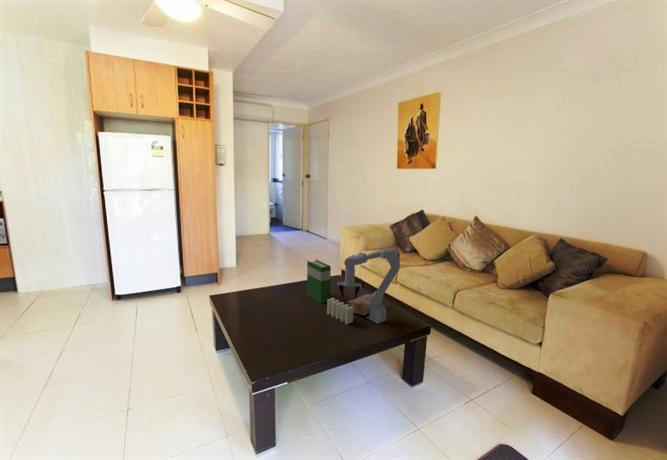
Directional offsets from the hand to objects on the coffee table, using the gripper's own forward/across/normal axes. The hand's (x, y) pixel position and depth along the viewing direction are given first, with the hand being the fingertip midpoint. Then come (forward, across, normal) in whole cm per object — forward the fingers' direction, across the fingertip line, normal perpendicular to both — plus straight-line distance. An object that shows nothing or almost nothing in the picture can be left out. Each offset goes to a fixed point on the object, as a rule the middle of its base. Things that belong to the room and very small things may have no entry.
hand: (349, 298), depth 190 cm
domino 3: (+10, +5, +6) cm, 13 cm away
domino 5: (+10, -1, +11) cm, 15 cm away
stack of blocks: (+7, -4, -11) cm, 14 cm away
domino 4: (+10, +2, +9) cm, 14 cm away
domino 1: (+10, +11, +1) cm, 15 cm away
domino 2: (+10, +8, +4) cm, 13 cm away
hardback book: (+10, +23, -21) cm, 33 cm away
